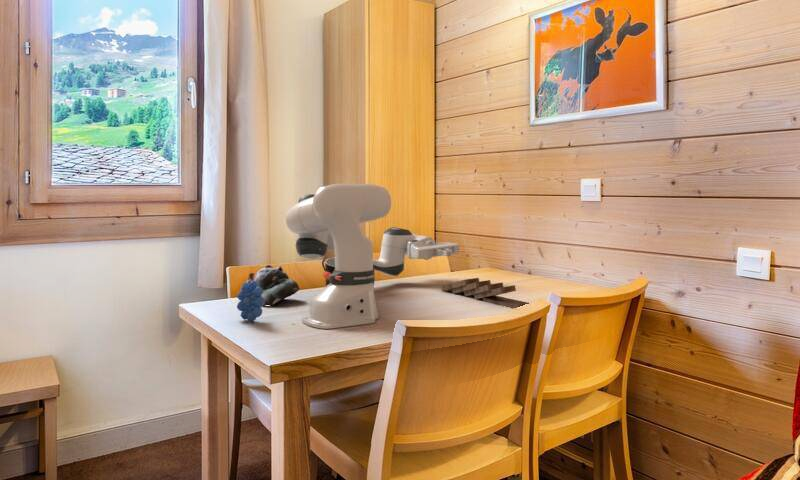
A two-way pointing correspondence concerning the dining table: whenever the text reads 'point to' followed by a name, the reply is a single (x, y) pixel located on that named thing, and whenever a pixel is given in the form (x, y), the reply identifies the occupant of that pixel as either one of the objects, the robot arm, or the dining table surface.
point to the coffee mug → (329, 267)
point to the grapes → (250, 301)
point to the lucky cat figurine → (274, 284)
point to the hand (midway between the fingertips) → (449, 253)
